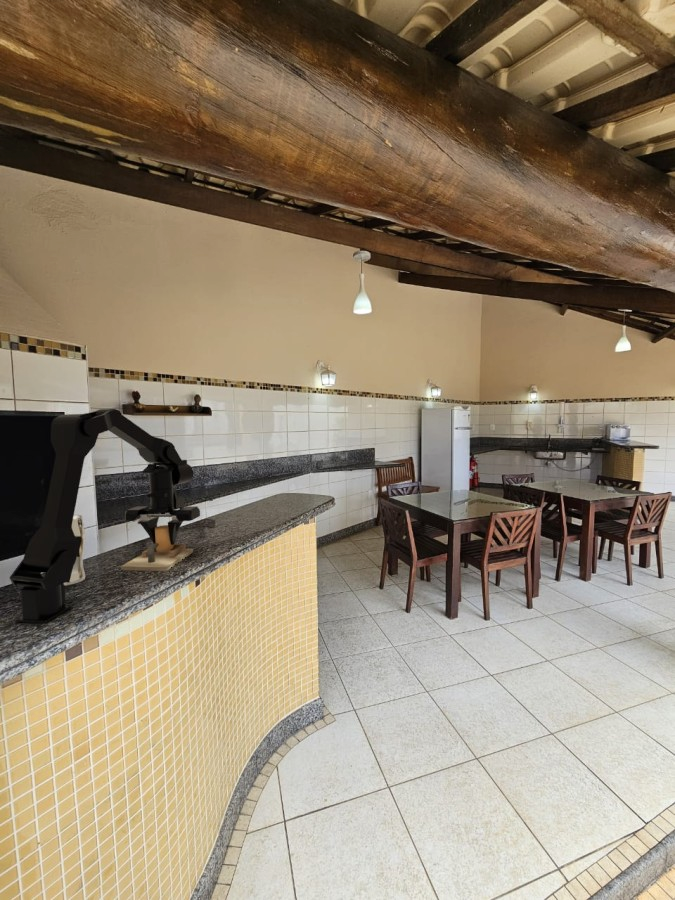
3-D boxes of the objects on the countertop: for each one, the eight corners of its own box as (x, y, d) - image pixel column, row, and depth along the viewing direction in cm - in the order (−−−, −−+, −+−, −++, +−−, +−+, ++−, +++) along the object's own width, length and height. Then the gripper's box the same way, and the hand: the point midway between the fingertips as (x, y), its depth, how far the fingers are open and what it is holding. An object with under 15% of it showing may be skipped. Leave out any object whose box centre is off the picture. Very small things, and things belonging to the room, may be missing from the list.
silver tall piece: (69, 587, 89) (65, 522, 88) (44, 585, 90) (39, 521, 89) (94, 575, 96) (90, 514, 95) (70, 574, 97) (66, 514, 96)
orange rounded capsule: (168, 551, 106) (167, 529, 105) (152, 551, 106) (151, 529, 106) (176, 546, 110) (175, 525, 110) (161, 546, 111) (160, 525, 110)
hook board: (166, 570, 98) (165, 550, 97) (121, 570, 99) (120, 550, 99) (192, 552, 112) (192, 534, 111) (152, 551, 113) (151, 534, 113)
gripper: (207, 483, 114) (209, 536, 115) (146, 483, 116) (149, 535, 117) (189, 489, 103) (191, 548, 104) (121, 490, 105) (125, 547, 106)
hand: (164, 544), depth 108 cm, fingers closed on orange rounded capsule, 4 cm apart
